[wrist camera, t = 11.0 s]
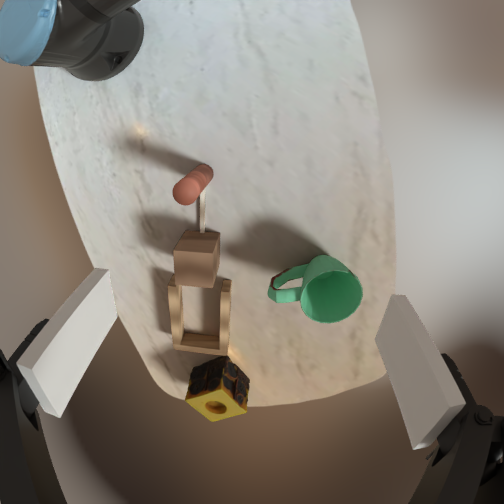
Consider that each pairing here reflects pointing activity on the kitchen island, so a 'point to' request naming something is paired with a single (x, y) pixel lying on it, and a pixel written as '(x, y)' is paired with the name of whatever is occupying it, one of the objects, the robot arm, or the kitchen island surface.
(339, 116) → the kitchen island surface
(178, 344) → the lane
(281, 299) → the mug
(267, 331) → the kitchen island surface
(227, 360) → the toy block
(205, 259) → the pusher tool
